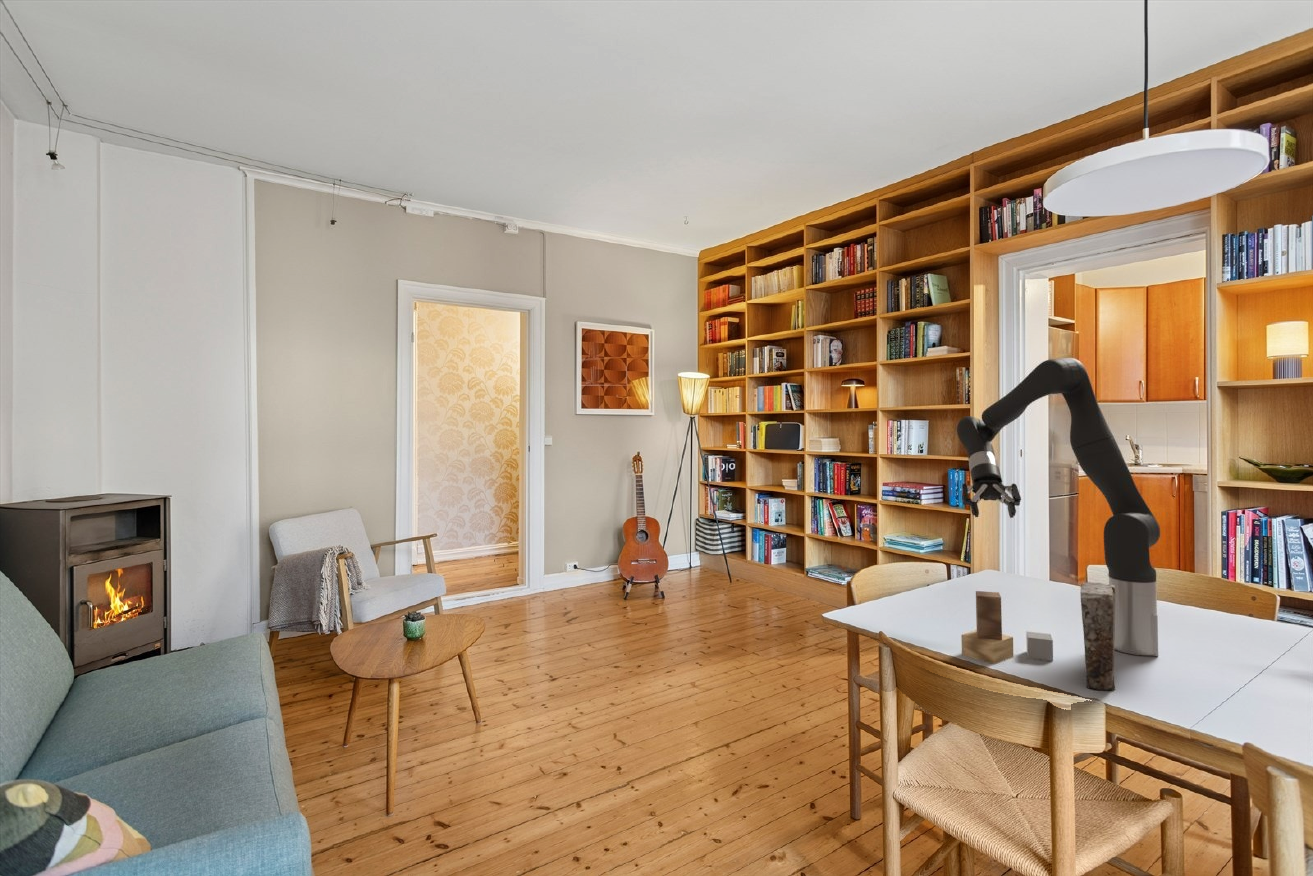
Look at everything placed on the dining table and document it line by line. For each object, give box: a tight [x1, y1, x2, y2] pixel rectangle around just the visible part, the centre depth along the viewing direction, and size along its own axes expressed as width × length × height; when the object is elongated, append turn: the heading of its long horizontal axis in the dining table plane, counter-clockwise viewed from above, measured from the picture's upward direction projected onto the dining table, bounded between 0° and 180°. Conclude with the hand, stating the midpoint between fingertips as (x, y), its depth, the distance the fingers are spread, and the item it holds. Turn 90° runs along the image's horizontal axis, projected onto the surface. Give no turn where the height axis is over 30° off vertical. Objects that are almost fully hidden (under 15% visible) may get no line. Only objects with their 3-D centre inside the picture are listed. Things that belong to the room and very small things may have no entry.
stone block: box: [1080, 581, 1116, 691], centre depth 135 cm, size 13×7×20 cm, turn 149°
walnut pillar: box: [975, 590, 1003, 640], centre depth 151 cm, size 5×5×10 cm
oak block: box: [960, 629, 1014, 665], centre depth 151 cm, size 8×8×5 cm
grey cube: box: [1025, 630, 1054, 662], centre depth 150 cm, size 5×5×5 cm
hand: (994, 515), depth 171 cm, fingers open, 8 cm apart
